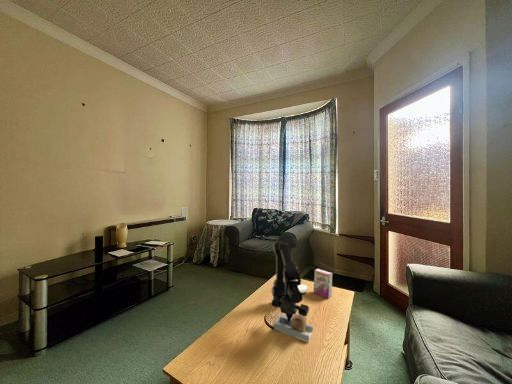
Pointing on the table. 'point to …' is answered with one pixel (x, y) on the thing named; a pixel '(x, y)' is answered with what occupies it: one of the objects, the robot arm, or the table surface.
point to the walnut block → (299, 323)
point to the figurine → (302, 287)
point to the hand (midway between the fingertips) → (289, 321)
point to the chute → (286, 328)
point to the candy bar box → (323, 283)
